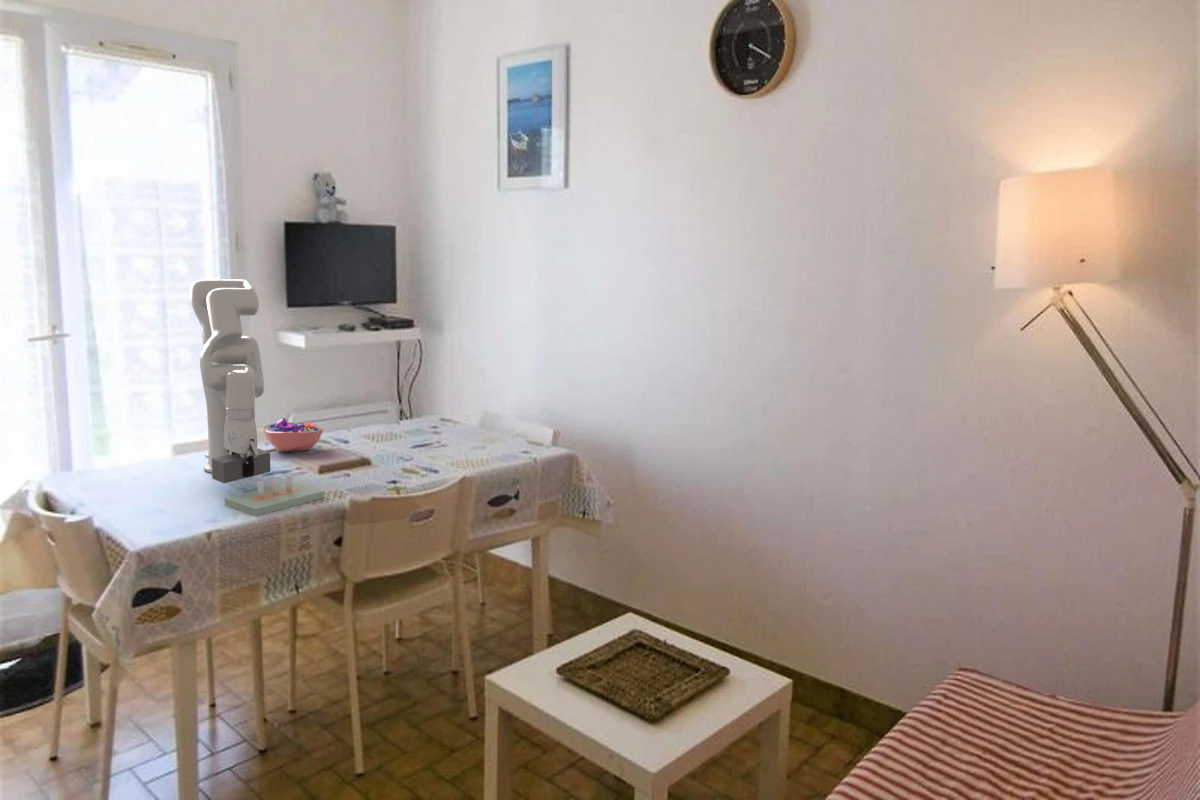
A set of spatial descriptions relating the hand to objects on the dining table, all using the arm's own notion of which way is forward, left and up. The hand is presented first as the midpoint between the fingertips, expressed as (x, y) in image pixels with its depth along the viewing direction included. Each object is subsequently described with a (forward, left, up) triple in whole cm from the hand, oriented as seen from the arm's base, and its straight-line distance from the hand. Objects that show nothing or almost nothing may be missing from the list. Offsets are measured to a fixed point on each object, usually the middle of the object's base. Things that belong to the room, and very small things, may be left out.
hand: (241, 472), depth 247 cm
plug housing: (0, +2, -1) cm, 2 cm away
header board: (+16, 0, -5) cm, 17 cm away
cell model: (-27, +38, -5) cm, 46 cm away
